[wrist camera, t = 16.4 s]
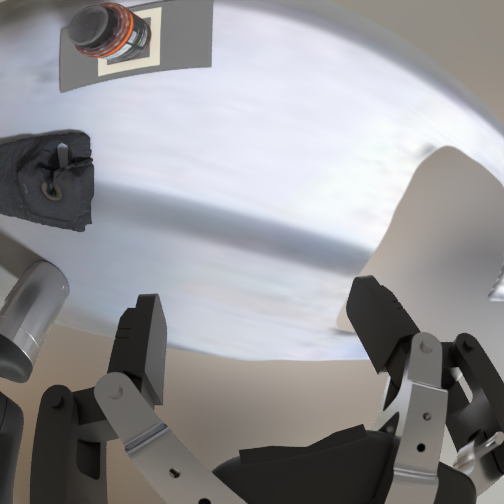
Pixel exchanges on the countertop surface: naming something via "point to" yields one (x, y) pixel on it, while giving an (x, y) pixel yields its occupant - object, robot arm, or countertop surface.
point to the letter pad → (156, 54)
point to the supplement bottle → (109, 32)
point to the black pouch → (48, 181)
